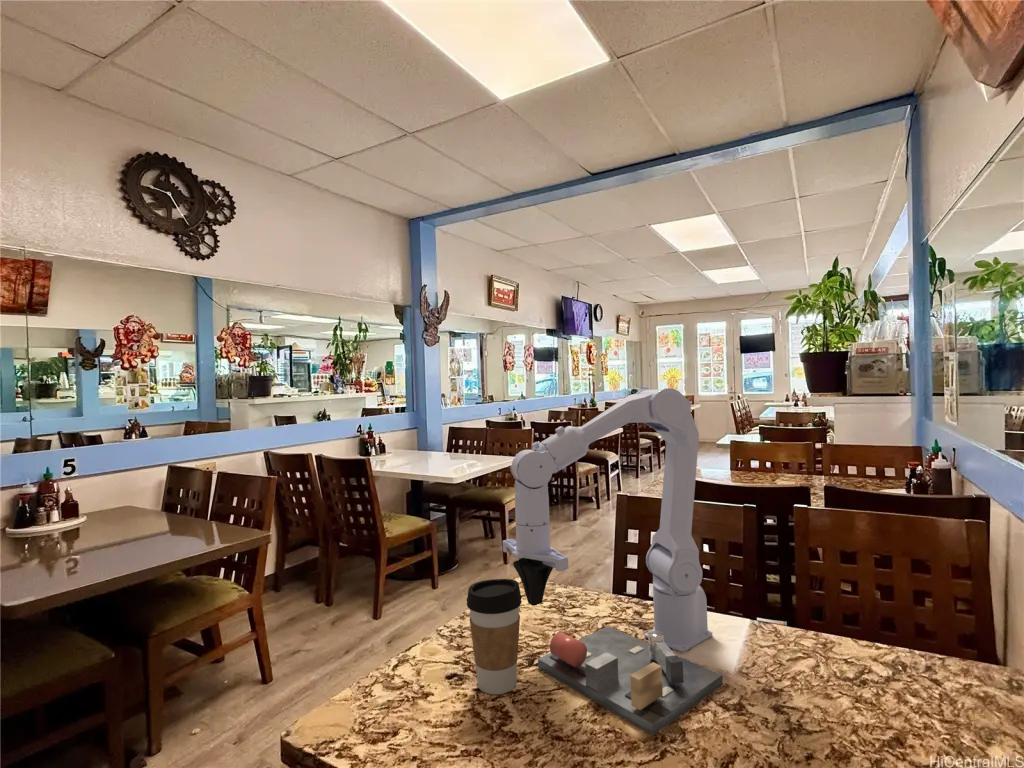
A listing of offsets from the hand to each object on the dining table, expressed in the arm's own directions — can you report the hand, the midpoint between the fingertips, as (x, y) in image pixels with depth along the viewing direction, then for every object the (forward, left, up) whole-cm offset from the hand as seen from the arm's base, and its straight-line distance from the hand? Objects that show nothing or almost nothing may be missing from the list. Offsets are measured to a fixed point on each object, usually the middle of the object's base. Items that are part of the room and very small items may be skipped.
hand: (535, 603), depth 88 cm
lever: (-9, +19, -7) cm, 22 cm away
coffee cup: (+10, +2, -9) cm, 14 cm away
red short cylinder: (0, +8, -7) cm, 10 cm away
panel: (-6, +14, -9) cm, 18 cm away
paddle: (-1, +22, -7) cm, 23 cm away
